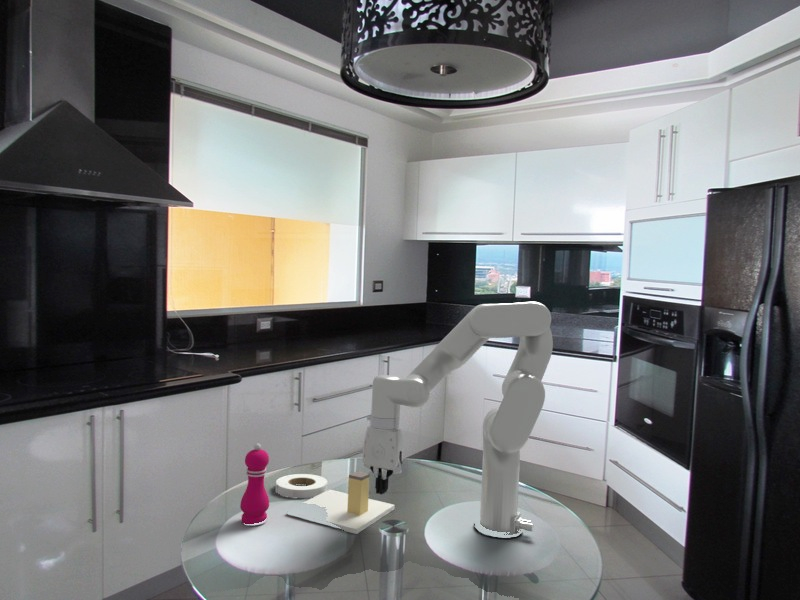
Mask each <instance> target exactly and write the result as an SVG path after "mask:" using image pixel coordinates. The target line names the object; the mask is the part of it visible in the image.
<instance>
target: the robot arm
mask: <svg viewBox="0 0 800 600" xmlns="http://www.w3.org/2000/svg"><path fill="white" fill-rule="evenodd" d="M551 323H552V314H551V311H550V310H549V308H548V307H547V306H546V305H545V304H543V303H542V302H538V301H523V302H513V303H510V302H509V303H482V304H481V303H480V304H478V305H476V306H475V307H473V308H472V309H471V310H470V311H469V312H468V313H467V314H466V315H465V316H464V317H463V318H462V319H461V320H460V321H459V322H458V324H457V325H456V326H454V327H453V328H452V329H451V331H450V332H449V333H448V334H447V335H446V336H445V337H443V339H441V341H440V342H439V343H438V344H437V345H436V346H435V347H434V349H433V350H432V351H431V352H430V353H429V354H428V355H427V356H426V357H425V358H424V359H423V360H422V361H421V362H420V363H419V364H418V365H417V366H416V367H415V368H413V370H412V371H411V372H410V373H409V374H408V375H407V376H406V378H400V377H399V376H396V375H390V374H389V375H388V374H387V375H386V374H380V375H376V376H375V377H374V378H373V380H372V390H371V391H372V392H371V393H372V394H371V410H370V411H371V412H370V415H367V416H366V421H368V422H369V425H368V426H367V428H366V433H365V436H364V442H363V447H362V458H361V459H362V463H363V464H364V465H363V466H364V467H365V468H367V469H369V470H370V472H372V473H373V477H374V478H375V485H374V487H375V494H378V495H381V496H382V495H383V494H385V493H387V491H388V490H389V478H391V476H392V475H397V474H398V475H400V474H401V473H402V472H403V469H402V465H403V461H404V459H403V458H404V444H403V443H404V441H403V435H402V429H401V428H400V416H401V415H400V414H401V406H405V407H410V408H420V407H422V406H424V405H426V404H427V403H428V401H429V399H430V395H431V392H432V390H433V389H434V388H435V387H436V386H437V385H438V384H439V383H441V381H442V380H443V379H444V378H446V377H447V376H448V375H449V374H450V373H452V372H453V371H455V370H458V369H459V368H461V367H462V366H464V365H465V364H467V362H469V360H470V359H471V358H472V357H473V356H474V354H476V353H477V351H479V350H480V348H482V346H483V345H485V343H487V342H488V341H489V339H505V338H509V339H510V338H519V344H518V348H517V350H516V352H515V353H516V354H515V356H514V359H513V361H512V363H511V366H510V367H509V370H508V372H507V373H506V375H505V377H504V379H503V381H502V383H501V384H502V385H501V393H502V395H503V398H502V400H501V402H500V405H499V406H496V407H494V408H491V409H490V410H489V411H488V412H487V413H486V414H485V416H484V419H483V421H482V422H483V423H482V467H481V468H482V469H481V486H480V487H481V489H480V490H481V491H480V510H479V512H480V513H479V514H480V515H479V517H480V524H481V525H482V526H483V527H485V528H486V529H489V530H492V531H497V532H506V533H507V532H510V533H509V534H508V533H507V534H508V535H513V534H517V533H519V532H518V531H519V530H520V529H523V531H527V532H532V533H533V531H534V523H532V521H531V520H529V519H524V518H523V517H521V515H522V514H521V512H520V511H518V505H519V488H520V487H519V486H520V485H519V484H520V465H521V464H520V463H521V462H520V461H521V460H520V458H521V451H520V450H521V449H523V447H524V446H525V445H526V444H527V443H528V440H529V438H530V436H531V434H532V431H533V429H534V427H535V425H536V422H537V420H538V418H539V415H540V414H541V412H542V410H543V407H544V403H545V401H546V400H545V399H546V389H545V386H544V384H543V383H542V380H543V378H544V376H545V373H546V370H547V368H548V366H549V363H550V360H551V358H552V357H551V356H552V353H553V348H554V347H553V346H554V341H553V334H552V333H553V332H552V330H551ZM517 530H518V531H517ZM520 531H521V530H520ZM507 534H506V535H507ZM504 535H505V534H504Z"/></svg>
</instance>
